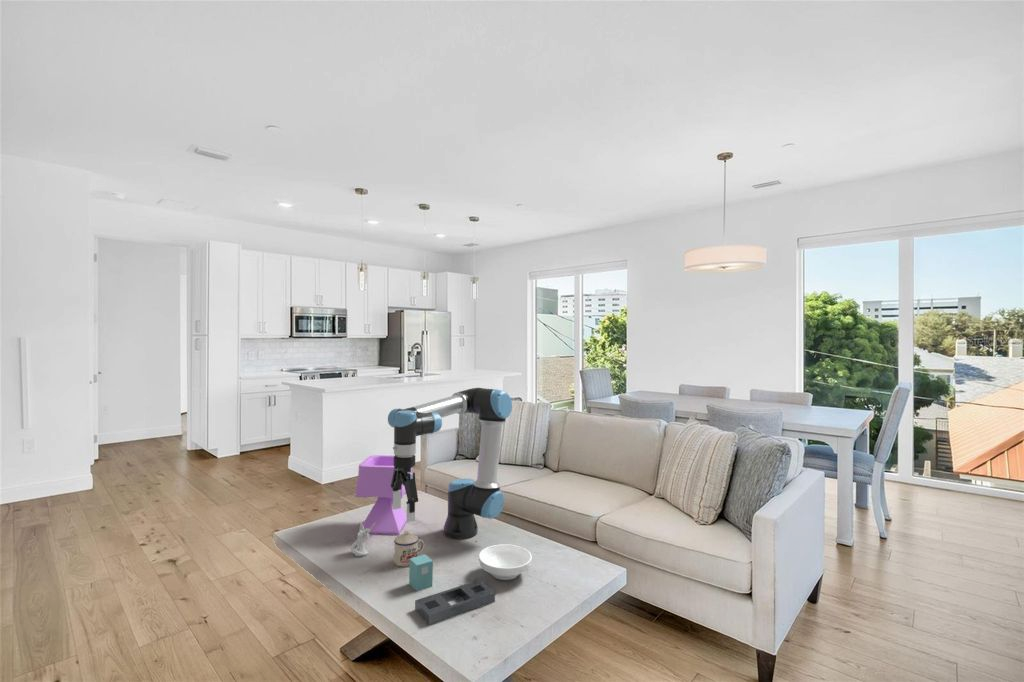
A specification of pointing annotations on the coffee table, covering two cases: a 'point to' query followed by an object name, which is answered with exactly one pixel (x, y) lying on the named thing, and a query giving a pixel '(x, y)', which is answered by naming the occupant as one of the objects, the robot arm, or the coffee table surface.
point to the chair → (380, 495)
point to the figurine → (361, 541)
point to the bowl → (505, 560)
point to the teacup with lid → (406, 548)
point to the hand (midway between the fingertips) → (403, 514)
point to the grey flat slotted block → (440, 609)
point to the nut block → (421, 572)
